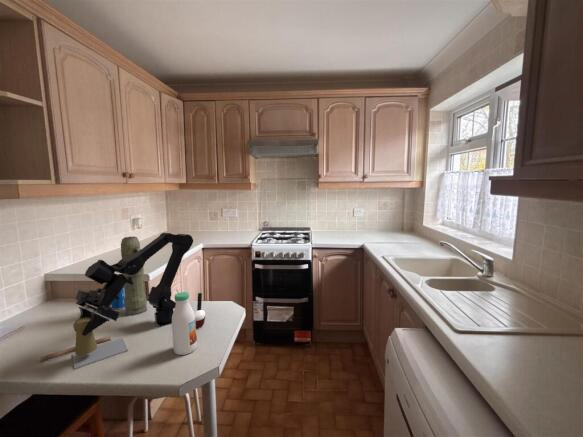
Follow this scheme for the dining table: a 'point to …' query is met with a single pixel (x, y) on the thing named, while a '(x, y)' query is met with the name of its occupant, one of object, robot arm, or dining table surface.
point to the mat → (100, 353)
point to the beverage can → (119, 301)
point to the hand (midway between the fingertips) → (79, 333)
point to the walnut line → (69, 350)
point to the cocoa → (199, 313)
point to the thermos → (133, 280)
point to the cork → (84, 337)
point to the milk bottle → (183, 325)
